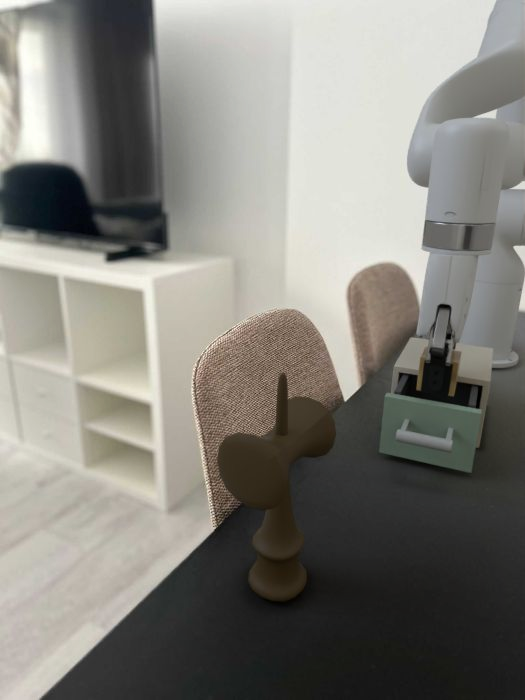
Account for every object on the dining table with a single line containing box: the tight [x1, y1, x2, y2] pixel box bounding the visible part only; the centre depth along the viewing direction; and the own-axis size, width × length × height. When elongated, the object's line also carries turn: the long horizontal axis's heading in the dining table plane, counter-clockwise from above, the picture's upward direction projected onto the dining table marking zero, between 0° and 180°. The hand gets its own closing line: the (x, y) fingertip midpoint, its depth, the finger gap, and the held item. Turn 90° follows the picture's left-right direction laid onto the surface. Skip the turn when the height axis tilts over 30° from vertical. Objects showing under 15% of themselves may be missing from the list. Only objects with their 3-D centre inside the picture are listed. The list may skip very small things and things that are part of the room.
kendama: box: [216, 372, 337, 603], centre depth 42 cm, size 6×10×20 cm, turn 146°
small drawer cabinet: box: [390, 336, 493, 449], centre depth 74 cm, size 14×12×10 cm
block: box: [416, 347, 462, 396], centre depth 63 cm, size 4×4×4 cm
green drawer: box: [378, 373, 482, 474], centre depth 65 cm, size 18×11×8 cm, turn 156°
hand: (437, 384), depth 64 cm, fingers closed on block, 4 cm apart
